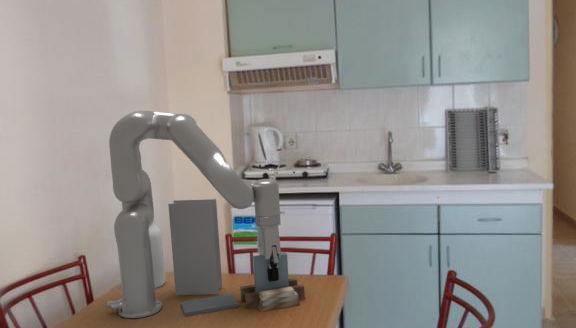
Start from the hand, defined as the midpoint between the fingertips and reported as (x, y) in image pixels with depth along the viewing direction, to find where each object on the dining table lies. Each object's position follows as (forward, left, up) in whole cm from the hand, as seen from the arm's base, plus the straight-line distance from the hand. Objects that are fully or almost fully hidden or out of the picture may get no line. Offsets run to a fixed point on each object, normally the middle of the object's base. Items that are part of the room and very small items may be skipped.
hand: (271, 277), depth 159 cm
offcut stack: (0, -6, -7) cm, 9 cm away
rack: (0, 0, -7) cm, 7 cm away
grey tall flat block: (-20, +17, -7) cm, 27 cm away
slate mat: (-19, +3, -7) cm, 20 cm away
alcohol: (-34, +31, -7) cm, 47 cm away
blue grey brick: (0, 0, -7) cm, 7 cm away
